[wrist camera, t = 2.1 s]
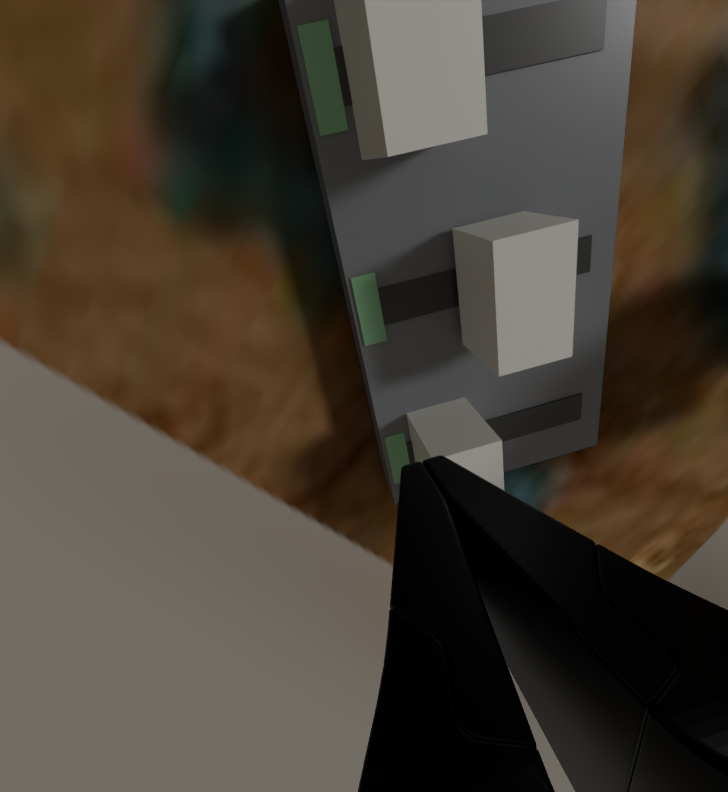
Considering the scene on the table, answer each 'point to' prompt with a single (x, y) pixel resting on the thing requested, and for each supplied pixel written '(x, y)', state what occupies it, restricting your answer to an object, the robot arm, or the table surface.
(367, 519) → the table surface
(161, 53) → the table surface
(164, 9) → the table surface
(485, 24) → the breaker panel
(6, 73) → the table surface
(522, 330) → the handle
